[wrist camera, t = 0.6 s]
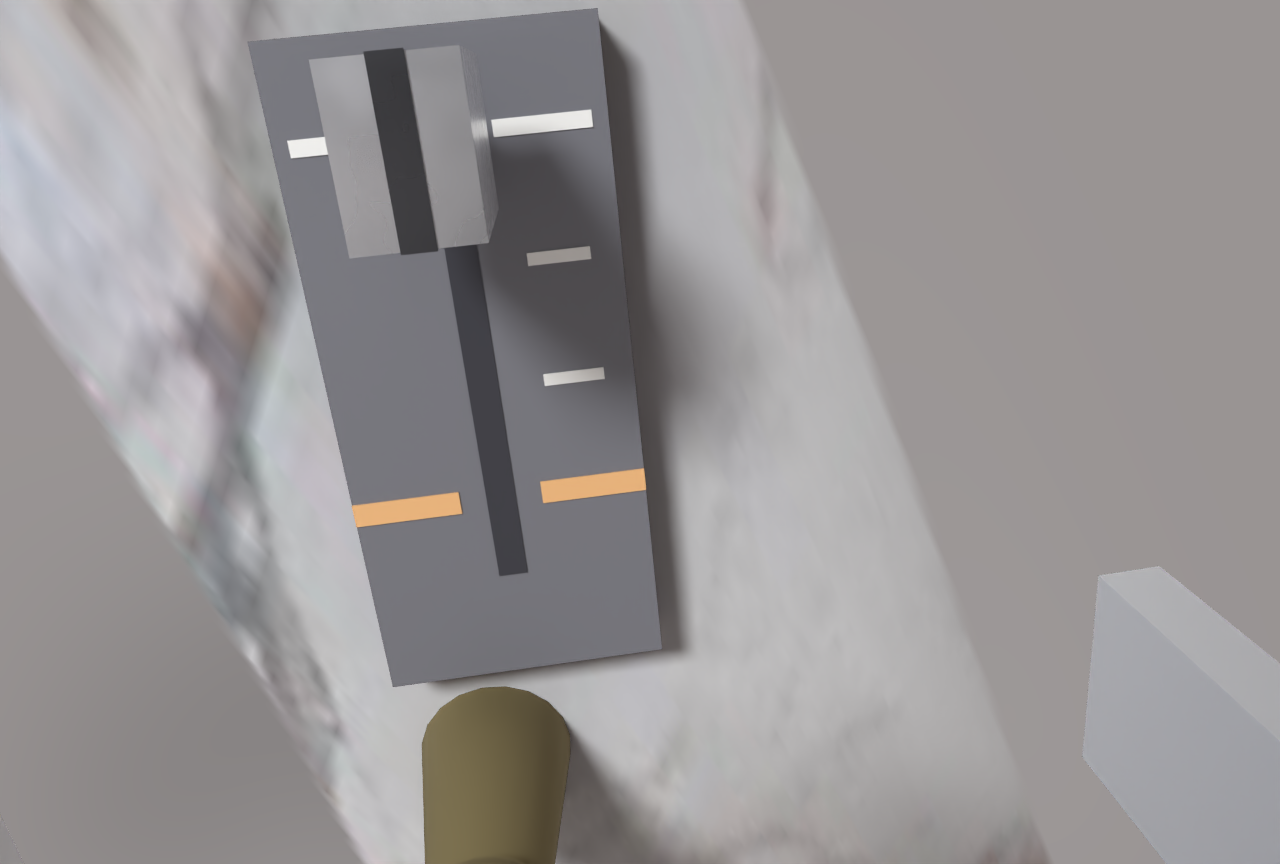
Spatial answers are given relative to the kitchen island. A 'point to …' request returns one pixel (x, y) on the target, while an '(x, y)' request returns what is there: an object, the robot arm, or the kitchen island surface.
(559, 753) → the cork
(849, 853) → the kitchen island surface
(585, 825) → the kitchen island surface
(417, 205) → the fader knob
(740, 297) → the kitchen island surface
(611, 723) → the kitchen island surface
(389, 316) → the fader console
